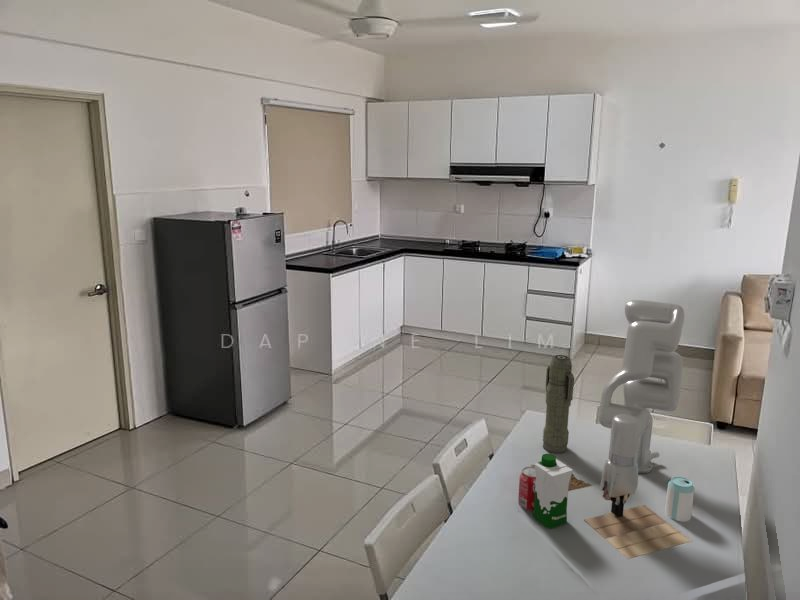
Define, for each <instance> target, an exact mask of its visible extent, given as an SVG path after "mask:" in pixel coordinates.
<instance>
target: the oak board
mask: <svg viewBox="0 0 800 600" xmlns="http://www.w3.org/2000/svg"><path fill="white" fill-rule="evenodd" d="M605 540H606V541H607V542H608V543H609V544H610V545H611V546H613V547H614V548H615V549H616V550H618V551H619V552H620V553H621V554H622V555H623V556H624V557H625V558H627V560H629V559H633V558H635V557H640V556H644V555H647V554H650V553H654V552H659V551H662V550H664V549H669V548H672V547H675V546H679V545H683V544H686V543H690V542H693V540H692V539H691V538H689V537H687V535H685V534H684V533H682V532H681V530H679V529H677V528H676V527H674V526H673V525H671V524H670V523H669V522H666V523H662V524H659V525H655V526H651V527H647V528H643V529H639V530H635V531H632V532H628V533H624V534H620V535H616V536H612V537H608V538H605Z"/></svg>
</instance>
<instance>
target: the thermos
mask: <svg viewBox="0 0 800 600" xmlns="http://www.w3.org/2000/svg"><path fill="white" fill-rule="evenodd" d="M572 368H573V365H572V360H571V358H570V357H569V356H567V355H563V354H556V355H554V356H552V358H551V360H550V362H549V366H547V368H546V375H545V377H546V378H545V392H546V393H545V404H546V412H545V413H546V414H545V425H544V428H543V431H542V441H543V442H542V443H543V444H542V449H543V450H544V451H546V452H548V453H550V454H564V453H566V452H567V451H568V444H569V434H570V433H569V429H568V426H569V413H570V407H571V406H572V401H573V399H574V397H573V394H574V386H575V385H574V384H575V376H574V373H572Z"/></svg>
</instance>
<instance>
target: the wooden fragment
mask: <svg viewBox="0 0 800 600" xmlns="http://www.w3.org/2000/svg"><path fill="white" fill-rule="evenodd" d="M530 467H535V465H534V464H530ZM592 486H594V485H593V484H591V483H588V482H587V483H586V482H585V481H584V480H582V479H578V478H577V477H575V475H574V474H573V473H572V475H571V478H570V482H569V487H568V492H569V491H570V492H571V491H575V490H580V489H583V488H589V487H592Z"/></svg>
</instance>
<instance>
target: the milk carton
mask: <svg viewBox="0 0 800 600" xmlns="http://www.w3.org/2000/svg"><path fill="white" fill-rule="evenodd" d="M533 465H535V474H536V487H535V502H534V510H532V511H533V512H532V517H533V518H534V519H535V520H536V521H538V523H540V524H541V525H543V526H544V527H545V528H546V529H548V530H549V529H550V530H551V529H554V528H557V527H560V526H562V525H566V524H567V523H568V512H567V511H568V510H567V509H568V497H569V496H568V495H569V490H568V487H569V482H570V478H571V475H572V474H573V472H574V470H573V469H572V468H570V467H569V466H568V465H567V464H565V463H563V462H562V461H560V460H558V459H557V457H556V455H554V454H553V453H544V454H542V455H541V460H540V461H539V462H536V463H534V464H533Z"/></svg>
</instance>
